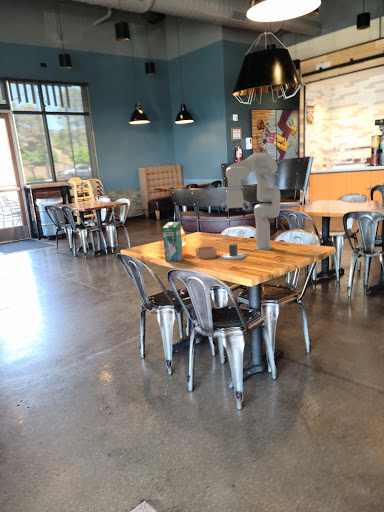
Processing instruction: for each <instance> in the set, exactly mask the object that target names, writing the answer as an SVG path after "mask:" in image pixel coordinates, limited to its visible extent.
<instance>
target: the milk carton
mask: <svg viewBox="0 0 384 512" xmlns="http://www.w3.org/2000/svg"><path fill="white" fill-rule="evenodd" d="M181 226H182V224H181V221H168V222H167V223H166V224H165V225H164V226H162V235H163V245H164V247H163V248H164V258H165V262H176V261H178V262H180V261H181V260H183V259H184V254H183V249H182V236H181Z"/></svg>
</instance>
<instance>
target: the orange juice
mask: <svg viewBox="0 0 384 512" xmlns="http://www.w3.org/2000/svg"><path fill="white" fill-rule="evenodd" d="M181 236H182V249H183V255H184V254H187V244H186V233H185V229H183V226H182V225H181Z"/></svg>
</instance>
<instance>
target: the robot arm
mask: <svg viewBox="0 0 384 512" xmlns="http://www.w3.org/2000/svg"><path fill="white" fill-rule="evenodd" d="M277 170H278V164H277V162H276V160H275V159H274V158H273V156H272V155H271V154H270V153H268V152H257V153H252V154H251V155H250V156H248V157H247V158H245V159H242V160H240V161H237V162H234V163H232V164H231V165H229V166H228V167H227V168H226V170H225V176H226V179H227V190H228V191H226V200H225V201H224V202H222V203H221V204H220V207H221V208H222V210H223V211H225V217H226V219H228V218H229V209H239V208H241V209H242V216H243V218H245V216H246V215H247V214H246V210H247V209H248V208H249V206H250V204H251V202H250V201H248V200H245V199H244V192H243V190H242V189H244V186H243V185H242V184H241V183H242V182H241V180H245V179H247V178H248V177H250V173H251V172H253V174H254V176H255V178H256V183H257V186H256V200H257V201H258V202H262V203H257V204H256V205H254V208H253V213H254V218H255V236H256V237H255V238H256V239H255V240H256V246H254V250H256V251H270V250H272V249H273V245H271V229H270V228H271V227H270V226H271V224H270V223H271V222H269V220H268V218H270V219H273V218H278V217H279V215H280V212H281V211H280V210H281V191H280V189H279V188H278V187H271V180H270V178H269V176H268V174H270V175H273V174H275V173H276V172H277ZM263 202H264V203H263ZM268 202H269V203H268ZM270 202H271V203H270ZM245 204H246V206H245ZM225 205H226V207H225Z"/></svg>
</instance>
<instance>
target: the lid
mask: <svg viewBox="0 0 384 512" xmlns="http://www.w3.org/2000/svg"><path fill="white" fill-rule="evenodd" d="M228 247H229V249H228V251H229V252H228V254H227V253H224V254H223V255H221V256H222V258H224V259H241V258H244V257H245V254H246V253H243V252H238V243H237V244H236V243H235V244H234V243H231V244H229V245H228ZM244 259H245V258H244Z"/></svg>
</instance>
